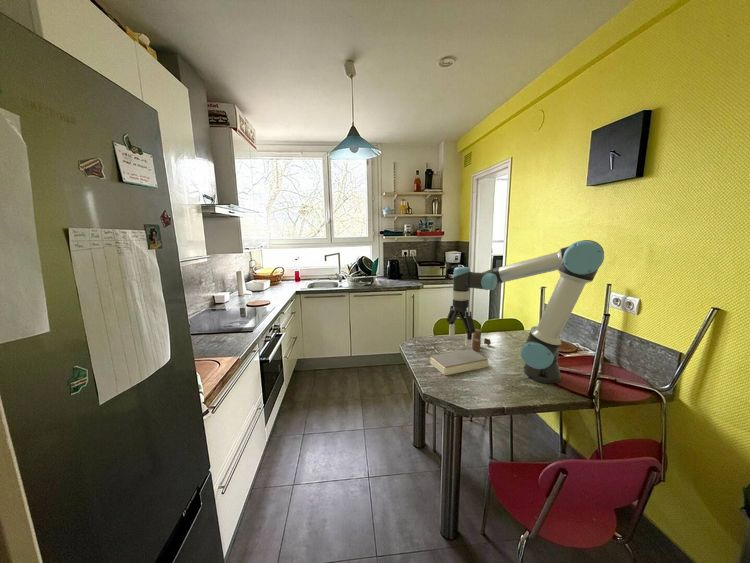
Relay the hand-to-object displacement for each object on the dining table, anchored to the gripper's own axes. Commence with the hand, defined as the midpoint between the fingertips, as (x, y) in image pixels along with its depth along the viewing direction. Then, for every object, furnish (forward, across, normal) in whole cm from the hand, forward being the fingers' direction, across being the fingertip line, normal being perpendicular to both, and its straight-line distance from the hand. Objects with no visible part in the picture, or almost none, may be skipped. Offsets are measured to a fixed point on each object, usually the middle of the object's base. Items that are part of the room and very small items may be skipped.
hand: (459, 340), depth 146 cm
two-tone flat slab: (+13, 0, 0) cm, 13 cm away
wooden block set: (+13, +13, -22) cm, 29 cm away
